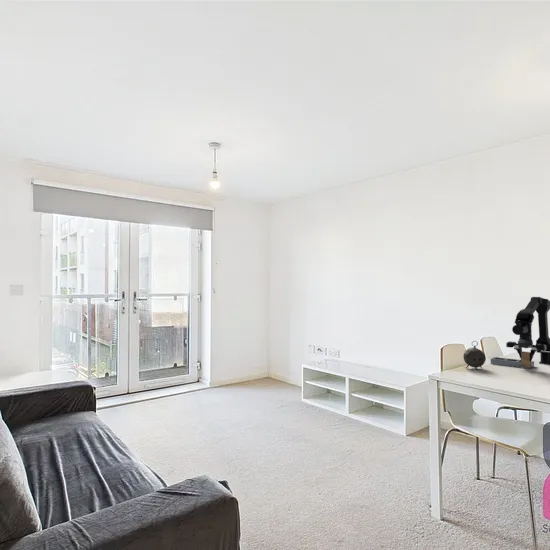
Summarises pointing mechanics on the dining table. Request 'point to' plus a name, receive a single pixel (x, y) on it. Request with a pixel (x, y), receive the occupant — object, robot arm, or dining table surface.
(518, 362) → the rail
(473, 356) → the alarm clock
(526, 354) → the square peg
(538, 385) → the dining table surface
